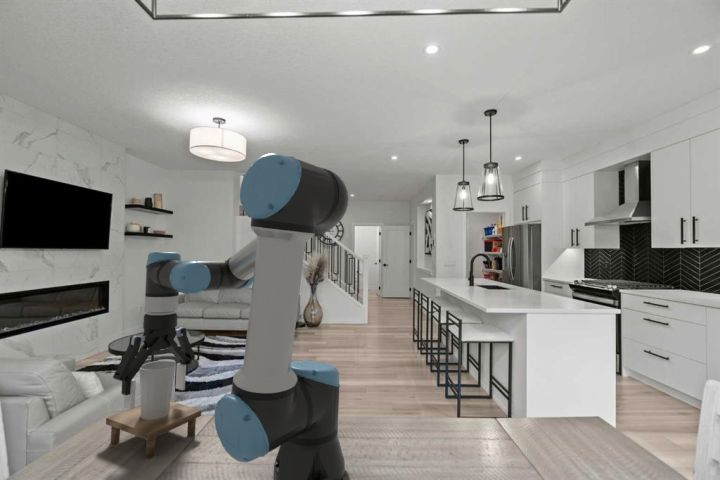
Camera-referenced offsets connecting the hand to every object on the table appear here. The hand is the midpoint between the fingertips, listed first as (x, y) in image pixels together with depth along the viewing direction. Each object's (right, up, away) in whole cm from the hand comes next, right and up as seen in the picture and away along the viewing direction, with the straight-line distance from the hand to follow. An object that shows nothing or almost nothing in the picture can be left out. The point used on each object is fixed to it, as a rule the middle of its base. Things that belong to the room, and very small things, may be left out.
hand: (156, 397), depth 89 cm
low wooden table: (0, -10, -1) cm, 10 cm away
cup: (0, -4, 0) cm, 4 cm away
